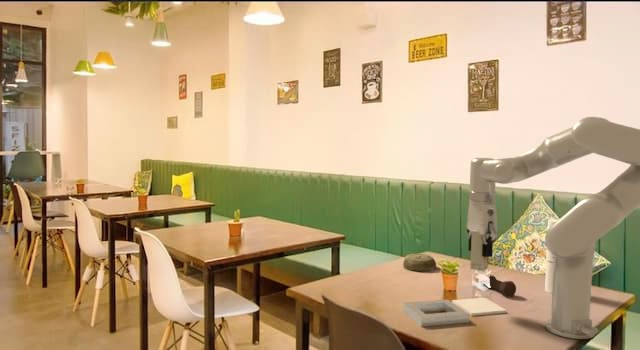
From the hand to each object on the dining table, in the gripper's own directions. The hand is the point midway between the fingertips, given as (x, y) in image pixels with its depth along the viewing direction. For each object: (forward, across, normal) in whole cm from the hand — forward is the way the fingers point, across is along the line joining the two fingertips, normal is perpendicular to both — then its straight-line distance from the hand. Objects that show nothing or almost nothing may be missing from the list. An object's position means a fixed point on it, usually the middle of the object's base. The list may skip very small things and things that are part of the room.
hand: (479, 253), depth 152 cm
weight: (+18, +48, -2) cm, 51 cm away
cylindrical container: (+18, +9, -36) cm, 41 cm away
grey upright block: (+5, 0, 0) cm, 5 cm away
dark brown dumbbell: (+18, +15, -16) cm, 28 cm away
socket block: (+17, -4, +17) cm, 25 cm away
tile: (+17, 0, 0) cm, 17 cm away
